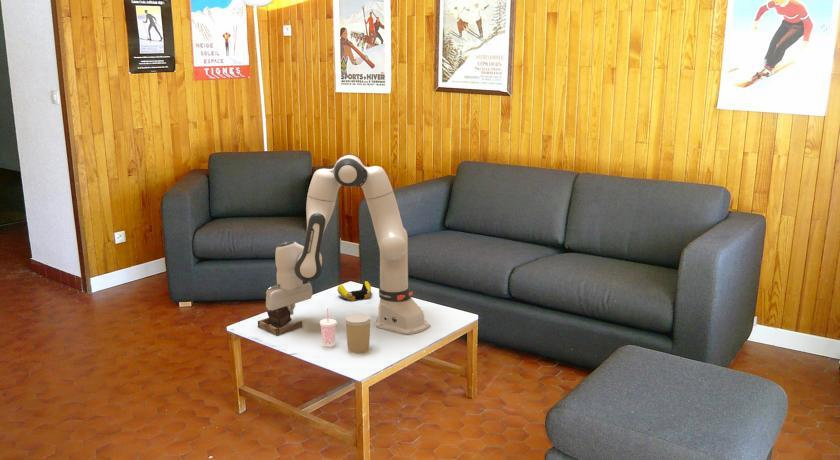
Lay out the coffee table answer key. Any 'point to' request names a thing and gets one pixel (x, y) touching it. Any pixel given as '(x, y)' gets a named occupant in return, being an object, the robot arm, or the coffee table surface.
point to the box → (279, 316)
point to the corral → (266, 326)
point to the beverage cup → (328, 331)
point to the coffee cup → (358, 332)
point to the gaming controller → (356, 292)
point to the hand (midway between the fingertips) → (290, 314)
